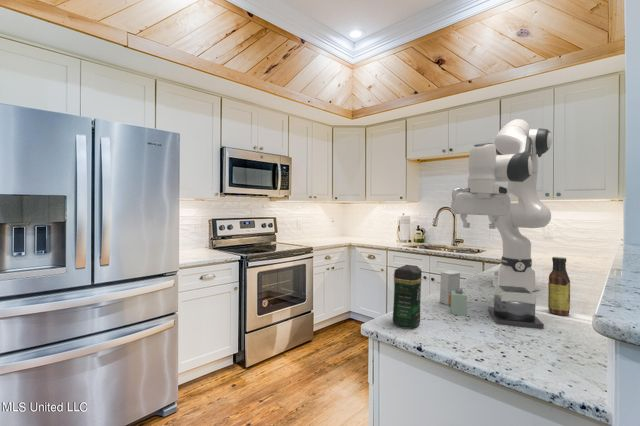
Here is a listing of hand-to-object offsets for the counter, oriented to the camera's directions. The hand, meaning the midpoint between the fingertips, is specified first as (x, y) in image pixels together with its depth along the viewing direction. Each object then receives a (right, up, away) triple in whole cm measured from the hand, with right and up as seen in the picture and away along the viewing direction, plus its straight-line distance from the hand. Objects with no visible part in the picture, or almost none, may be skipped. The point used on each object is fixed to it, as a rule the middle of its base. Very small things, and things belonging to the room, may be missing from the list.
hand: (479, 228), depth 114 cm
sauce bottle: (+29, -30, +1) cm, 42 cm away
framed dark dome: (+9, -30, -6) cm, 32 cm away
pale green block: (-7, -30, 0) cm, 31 cm away
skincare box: (-6, -30, +11) cm, 32 cm away
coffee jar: (-28, -30, -11) cm, 43 cm away
